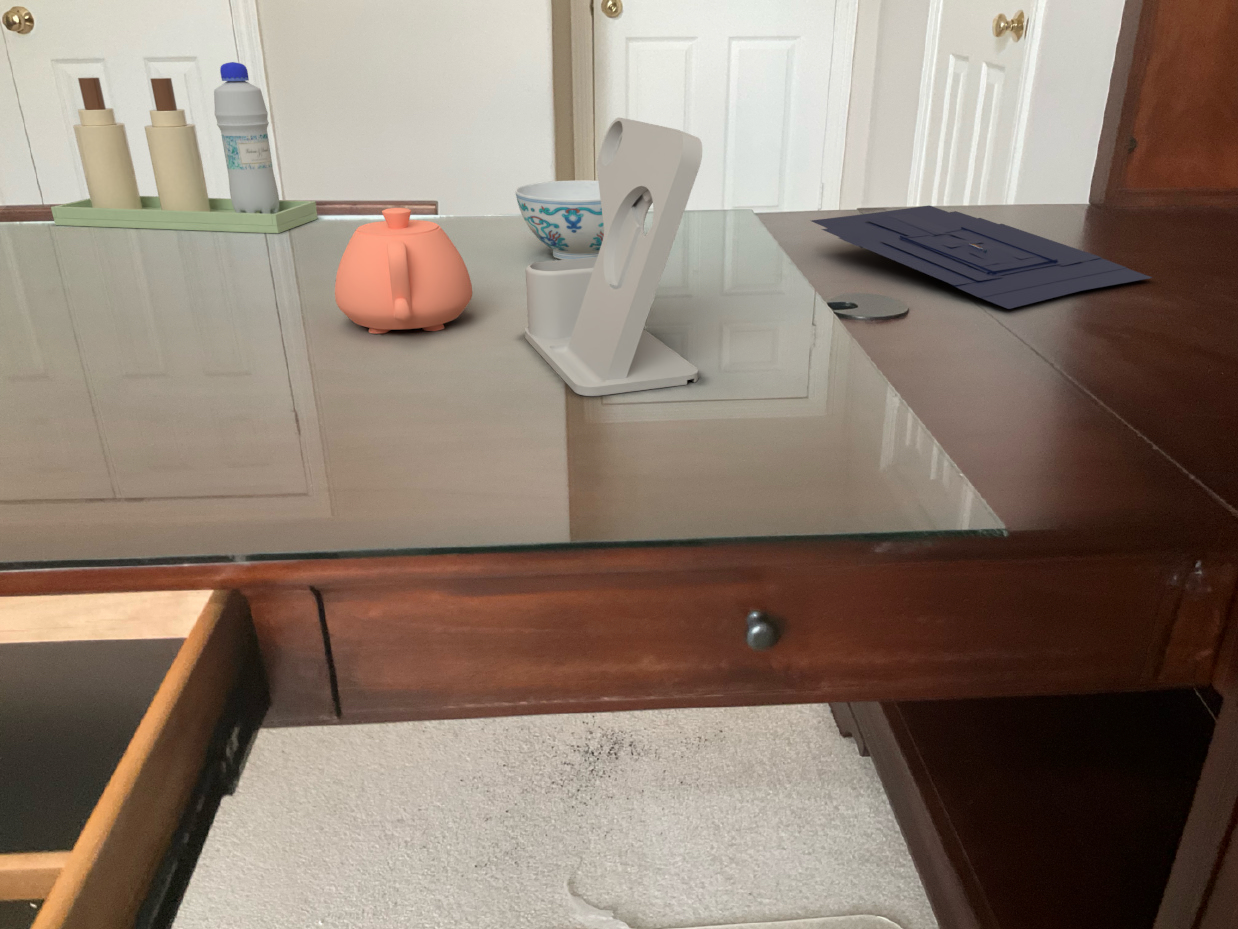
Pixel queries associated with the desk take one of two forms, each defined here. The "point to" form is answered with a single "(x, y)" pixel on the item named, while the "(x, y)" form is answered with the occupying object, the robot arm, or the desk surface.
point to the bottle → (245, 142)
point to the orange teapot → (401, 275)
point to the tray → (187, 216)
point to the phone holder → (618, 269)
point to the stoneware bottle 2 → (175, 153)
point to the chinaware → (564, 216)
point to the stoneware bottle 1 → (105, 152)
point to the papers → (979, 254)
